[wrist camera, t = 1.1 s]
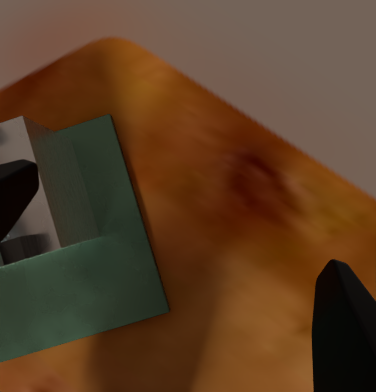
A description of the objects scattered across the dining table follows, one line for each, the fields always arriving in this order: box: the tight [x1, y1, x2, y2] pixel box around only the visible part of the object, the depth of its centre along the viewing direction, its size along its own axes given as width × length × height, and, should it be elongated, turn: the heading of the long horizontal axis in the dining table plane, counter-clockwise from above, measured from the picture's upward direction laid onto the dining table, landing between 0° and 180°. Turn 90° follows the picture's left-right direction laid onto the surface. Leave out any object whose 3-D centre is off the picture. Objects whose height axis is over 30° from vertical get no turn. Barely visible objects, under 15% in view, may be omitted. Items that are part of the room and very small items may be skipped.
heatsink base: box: [0, 114, 170, 362], centre depth 22 cm, size 16×16×9 cm
